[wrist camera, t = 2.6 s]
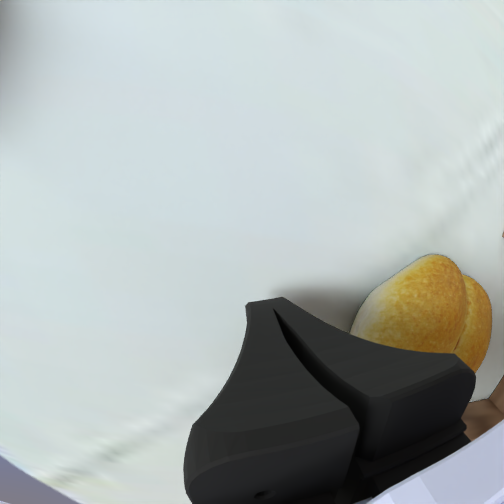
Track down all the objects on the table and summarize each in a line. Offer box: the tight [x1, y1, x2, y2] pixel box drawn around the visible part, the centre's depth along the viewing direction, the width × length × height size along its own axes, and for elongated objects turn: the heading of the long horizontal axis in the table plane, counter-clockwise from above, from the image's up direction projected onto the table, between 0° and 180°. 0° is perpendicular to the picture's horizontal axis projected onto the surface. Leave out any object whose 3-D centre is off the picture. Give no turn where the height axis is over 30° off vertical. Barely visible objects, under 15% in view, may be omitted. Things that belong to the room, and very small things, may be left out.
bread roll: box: [350, 255, 492, 373], centre depth 13 cm, size 8×9×4 cm
